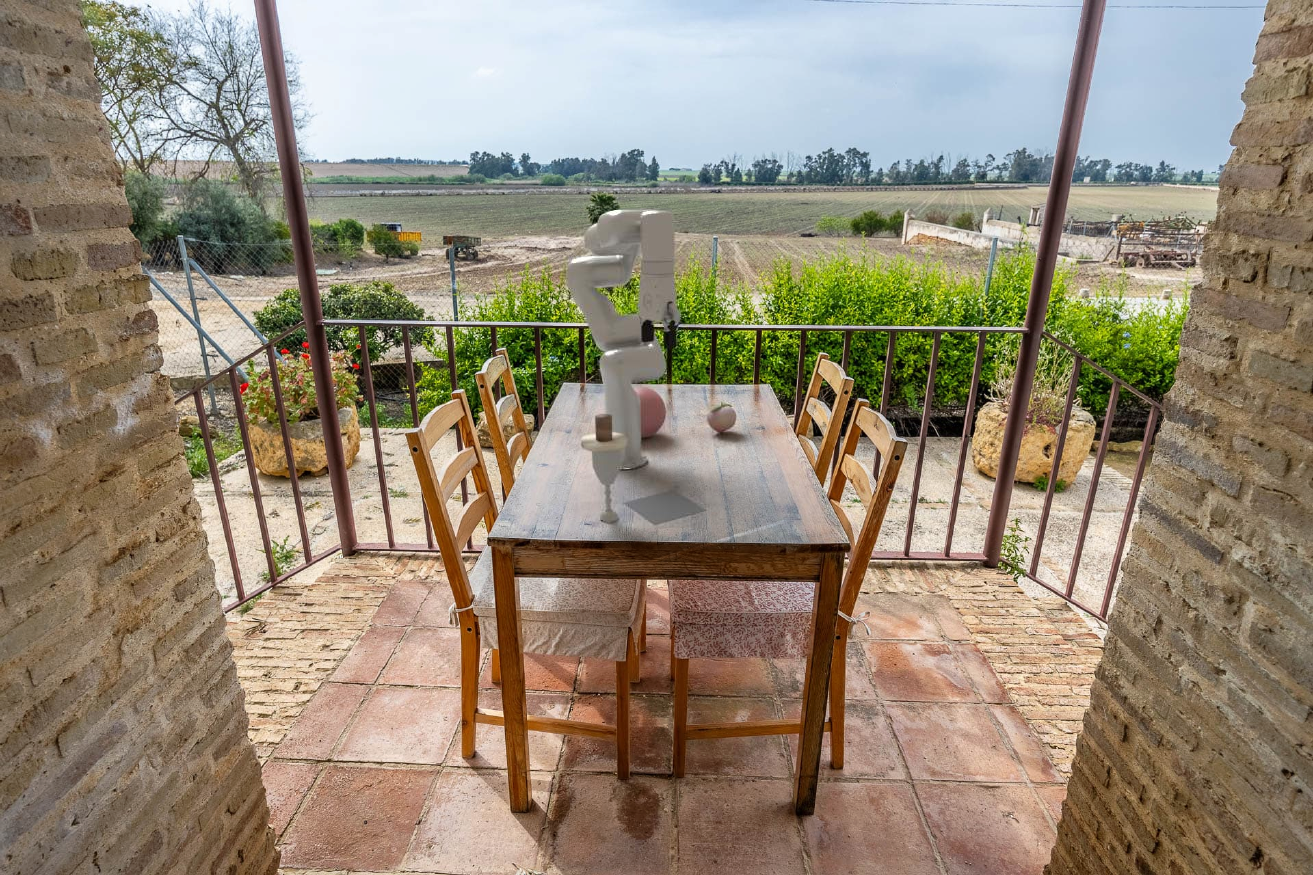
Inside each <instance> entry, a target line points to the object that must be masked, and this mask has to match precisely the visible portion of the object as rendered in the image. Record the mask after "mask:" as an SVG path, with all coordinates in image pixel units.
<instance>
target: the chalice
mask: <svg viewBox="0 0 1313 875" xmlns="http://www.w3.org/2000/svg"><path fill="white" fill-rule="evenodd" d="M591 462H592V468H593V470H594V474H595V475H596V478H597V480H598V481H599V483H600V484H601V485H604V486H605V490H604V492H603V494H604V496H605V499H604V500H603V501H604V502H605V508H604V509H602V510H601V511H600V513H599V516H598V519H599V518H600V520H603V521H606V522H605V523H613V522H612V521H614V522H616V521H618V520H619V518H618V517H619V514H618V512H617V511H616V510H615V509H614V508H612V506H611V503H612V501H613V499H612V498H611V494H612V491H611V488H610V487H611V485H614V484H615V481H616V479H617V477H618V475H619V474H620V470H621V469H620V467H621V450H617V451H612V452H592V451H591ZM600 520H599V521H600ZM615 520H616V521H615Z"/></svg>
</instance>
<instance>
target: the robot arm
mask: <svg viewBox="0 0 1313 875" xmlns="http://www.w3.org/2000/svg"><path fill="white" fill-rule="evenodd" d="M675 221H676V220H675V215H674V214H673V212H672V211H668V210H658V209H620V210H619V209H617V210H611V211H607V212H605V213H603V214H601V215H600V216H599V217H598V220H597V222H596V223H594V224H593V225H591V226H590V227H589V228H588V229H587V230H586V232H585V234H584V238H583V241H584V244H585V245H584V246H585V247H586V249H587V250H588V252H590V253H591V254H593V255H594V256H593V255H591V256H583V257H579V258H575V259H573V260H572V261H570V262H569V263H568V265H567V267H566V272H565V275H566V276H565V278H566V283H567V287H568V290H569V293H570V295H571V298H572V299H573V301H574V302H575V304H576V305H577V307H578V308H579V309H580V310H581V312H582V315H583V316H584V317H585V321H586V324H587V326H588V329H589V331H590V333H591V336H592V338H593V341H594V343H595V344H596V346H597V348H598V349H599V350H600V351H602V352H604V353H603V354H601V356H600V358H599V369H600V371H599V372H600V375H601V380H602V384H603V394H604V395H603V396H604V414H610V415H612V432H616V433H621V434H623V435H625V436H626V437H627V446H626V447H625V448H623V449H621V467H620V468H633V469H636V468H635V467H638V466H641V467H643V466H645V465H646V464H647V463H646V462H648V456H647V454H645V453H644V452H642V438H641V406H640V398H639V395H638V394H637V392H636V391H635V390H634V389H633V388H634V387H632V384H636V383H641V382H642V383H643V382H649V381H655V380H659V379H660V378H662V377H663V376H664V374H665V372H666V368H667V362H666V358H665V355H664V351H663V350H662V348H663V349H664V350H670V349H671V350H672V349H676V348H677V342H678V341H677V340H678V339H677V336H678V335H677V334H678V333H677V331H678V330H679V325H680V322H681V317H682V312H681V311H680V310H679V309H678V299H677V286H676V280H675V278H676V277H675V276H676V274H675V272H676V271H675V270H676V269H675V268H676V265H675V263H676V261H675V260H676V259H675V258H676V257H675V256H676V254H675V252H676V251H675V250H676V249H675V245H676V244H675V242H676V241H675V236H676V235H675V234H676V232H675V230H676V229H675V225H676V223H675ZM639 251H640V252H639ZM639 253H640V278H639V286H638V297H637V304H636V307H637V312H638V313H631V314H630V313H629V314H619V313H618V312H617V311H616V308H615V305H614V303H613V302H612V300H611V299H610V298H609V297H608V296H606V294H605V293H603V292H602V291H599V290H598V289H599V288H600V289H601V288H614V287H622V286H624V285H627V284H628V282H630V279H631V276H632V274H633V271H634V267H635V265H636V261H637V258H638V255H639ZM653 322H655V323H662V326H663V329H664V331H663V332H662V333H663V334H662V335H663V336H662V337H663V340H662V342H663V346H662V347H661V344H660V342H659V340H658V338H657V335H656V333H655V324H654V323H653ZM645 463H646V464H645ZM642 465H643V466H642ZM638 468H639V467H638Z"/></svg>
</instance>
